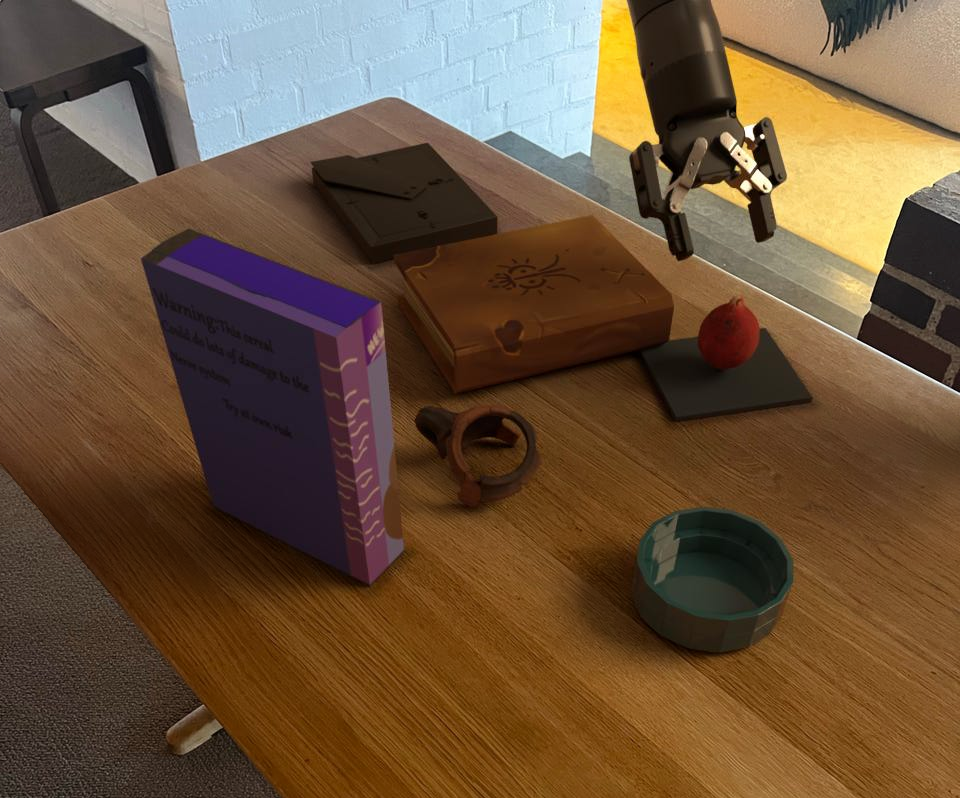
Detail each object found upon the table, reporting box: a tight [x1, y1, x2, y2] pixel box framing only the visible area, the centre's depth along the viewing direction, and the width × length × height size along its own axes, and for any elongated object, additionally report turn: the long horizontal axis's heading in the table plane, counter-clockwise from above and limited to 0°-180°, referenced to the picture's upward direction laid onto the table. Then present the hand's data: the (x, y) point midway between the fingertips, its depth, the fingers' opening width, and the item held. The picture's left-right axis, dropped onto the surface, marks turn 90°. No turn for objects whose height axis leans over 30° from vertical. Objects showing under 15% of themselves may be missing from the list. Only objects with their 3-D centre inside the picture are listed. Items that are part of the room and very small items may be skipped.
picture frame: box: [310, 142, 498, 265], centre depth 120 cm, size 16×3×21 cm
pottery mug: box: [413, 404, 544, 508], centre depth 88 cm, size 12×10×8 cm
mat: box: [637, 327, 814, 422], centre depth 99 cm, size 14×12×1 cm
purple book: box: [140, 228, 405, 587], centre depth 77 cm, size 17×5×24 cm, turn 57°
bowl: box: [630, 506, 795, 653], centre depth 79 cm, size 12×12×4 cm
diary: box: [393, 214, 675, 395], centre depth 102 cm, size 23×19×6 cm
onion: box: [697, 294, 760, 370], centre depth 96 cm, size 6×6×8 cm
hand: (726, 248), depth 92 cm, fingers open, 8 cm apart
